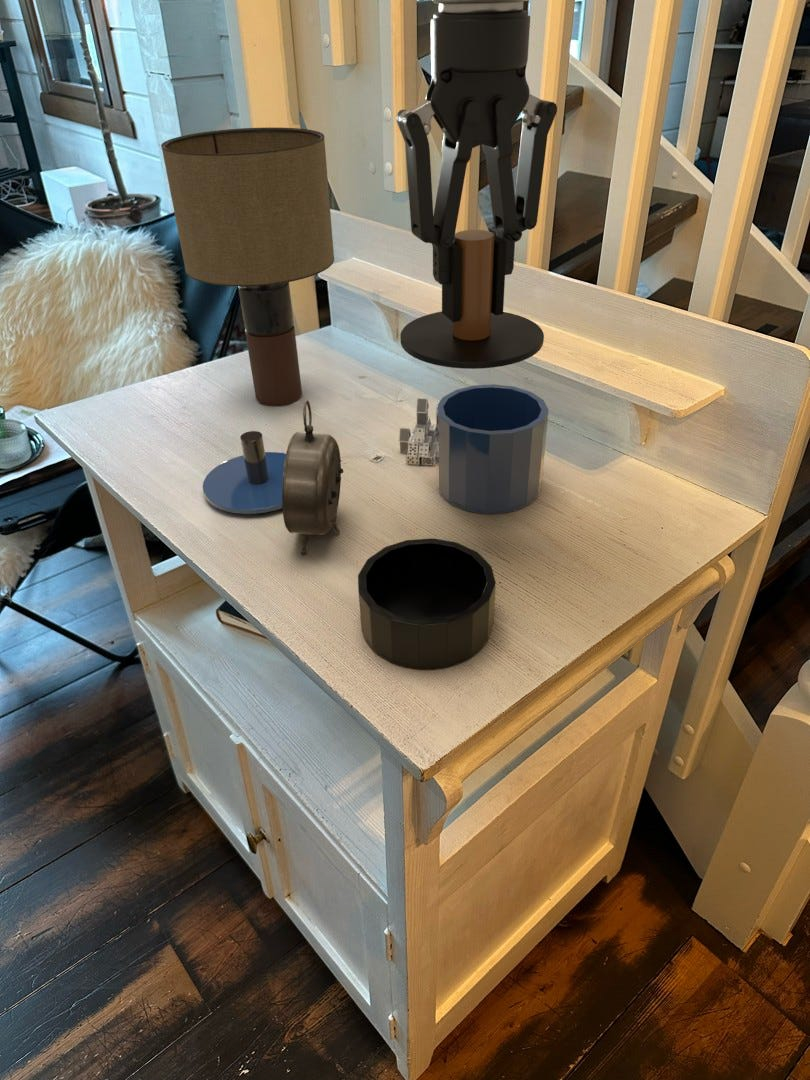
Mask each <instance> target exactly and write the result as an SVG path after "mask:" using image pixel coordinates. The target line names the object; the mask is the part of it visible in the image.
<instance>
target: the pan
mask: <svg viewBox="0 0 810 1080" xmlns="http://www.w3.org/2000/svg"><path fill="white" fill-rule="evenodd" d="M357 585H358V586H357V589H358V590H357V591H358V603H359V615H360V625H361V633H362V635H363V639H364V640H365V642H366V644H367V645H368V646H369V648H370V649H371V650H372V651H373V652H374V653H375V654H376V655H378V656H379V657H380V658H382V659H383V660H386V662H389V663H391V664H393V665H396V666H399V667H403V668H406V669H412V670H421V671H423V670H424V671H426V670H429V671H430V670H431V671H432V670H440V669H446V668H451V667H454V666H457V665H460V664H462V663H464V662H466V661H468V660H470V659H472V658H473V657H475V656H476V655H477V654H478V653H480V652H481V650H482V649H483V648H484V647H486V644H487V643H488V642H489V639H490V637H491V636H492V635H491V634H492V630H493V626H494V620H495V601H496V586H497V585H496V579H495V574H494V571H493V568H492V565H491V564H490V563H489V562H488V561H487V560H486V559H485V558H484V557H483V556H482V555H481V554H480V552H478V551H476V550H475V549H472V548H469V547H467V546H466V545H464V544H462V543H459V542H457V541H450V540H445V539H439V538H419V539H407V540H403V541H400V542H396V543H393V544H391V545H387V546H385V547H383V548H381V549H380V550H379V551H377V552H376V553H374V554H373V555H371V556H370V557H369V558H367V559H366V561H365V562H364V564H363V566H362V568H361V569H360V571H359V573H358V574H357Z"/></svg>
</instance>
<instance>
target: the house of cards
mask: <svg viewBox="0 0 810 1080" xmlns="http://www.w3.org/2000/svg"><path fill="white" fill-rule="evenodd" d="M428 399H429V398H420V397H419V398H417V400H416V411H415V413H416V422H415V423H414V427H413V428H412V431H411V430H410V428H409V427H408V428H407V427H399V431H398V432H399V433H398V442H399V453H400V454H406V455H405V465H415V466H420V465H421V466H422V465H423V466H434V467H435V466H436V458H437V423H432V422H431V416H430V415H429V407H430V405H429V400H428ZM385 457H386V456H385V455H381V454H378V453H376V454H375V455H374V456H373V457H371V458H370V459H369V461H372V462H374V463H380V461H381V460H383V459H384V458H385Z"/></svg>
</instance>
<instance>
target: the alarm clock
mask: <svg viewBox="0 0 810 1080" xmlns="http://www.w3.org/2000/svg"><path fill="white" fill-rule="evenodd" d="M307 410H308V424H307ZM312 415H313V414H312V408H311V403H310V401H309V400H308V399H305V400H304V401H303V407H302V418H303V427H304V432H300V431H296V432H295V433H293V434H292V436H291V438H290V440H289V441H288V445H287V449H286V452H285V453H286V457H285V462H284V469H283V479H282V508H281V509H282V517H283V522H284V526H285V528H286V530H287V531H288V532H289V533H290V534H300V537H301V538H300V544H301V549H300V554H301V556H305V555H306V554H307V544H308V539H309V535H315V536H316V535H317V536H322V535H325V534H327V533H329V532H330V531H331V530H332V528H333V529H334V531H335V532H336V533H337V534H340V532H341V531H340V529H339V528H338V526H337V523H336V522H337V513H338V509H339V503H340V497H341V496H340V495H341V483H342V482H341V481H342V474H343V473H344V469H343V468H342V461H341V453H340V448H339V444H338V442H337V440H336V438H335V437H333V436H332V435H331V434H327V433H326V434H325V433H314V426H313V425H312V421H313V416H312Z"/></svg>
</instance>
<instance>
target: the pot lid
mask: <svg viewBox="0 0 810 1080" xmlns="http://www.w3.org/2000/svg"><path fill="white" fill-rule="evenodd" d="M239 440H240V445H241V450H242V455H239V456H236V457H232V458H230V459H228V460H226V461H223V462H221V463H220V464H218V465H216V466H215V467H214V468H212V469H211V470H210V471H209V472H208V473H207V474H206V476H205V478H204V479H203V482H202V493H203V495H204V498H205V499H206V501H207V502H208V503H209V504H210V505H212V506H213V507H214V508H216V509H219V510H221V511H224V512H227V513H233V514H240V515H254V514H263V513H268V512H269V513H270V512H273V511H277V510H280V509H281V510H282V509H283V508H282V479H283V469H284V462H285V457H286V452H285V453H284V452H278V451H266V449H265V443H264V437H263V434H262V432H261V431H258V430H249V431H246V432H243V433H242V434H241V435H240V439H239Z"/></svg>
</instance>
